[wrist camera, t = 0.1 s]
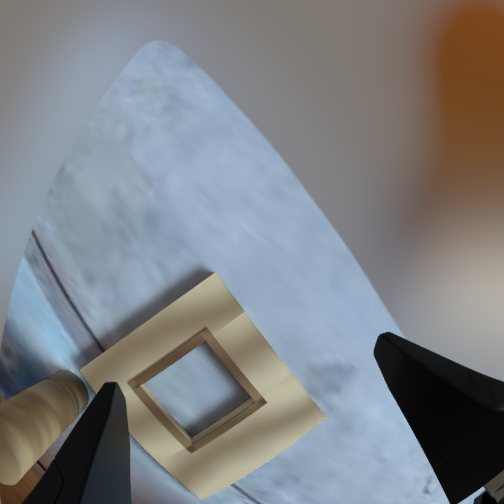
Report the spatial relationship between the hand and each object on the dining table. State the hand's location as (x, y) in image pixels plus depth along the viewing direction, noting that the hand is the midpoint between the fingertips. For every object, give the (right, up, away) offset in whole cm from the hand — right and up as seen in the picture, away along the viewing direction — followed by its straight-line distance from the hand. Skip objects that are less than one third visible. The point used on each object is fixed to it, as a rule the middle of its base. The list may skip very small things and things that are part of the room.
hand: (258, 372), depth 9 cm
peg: (-16, -8, +11) cm, 21 cm away
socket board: (-4, -8, +13) cm, 16 cm away
